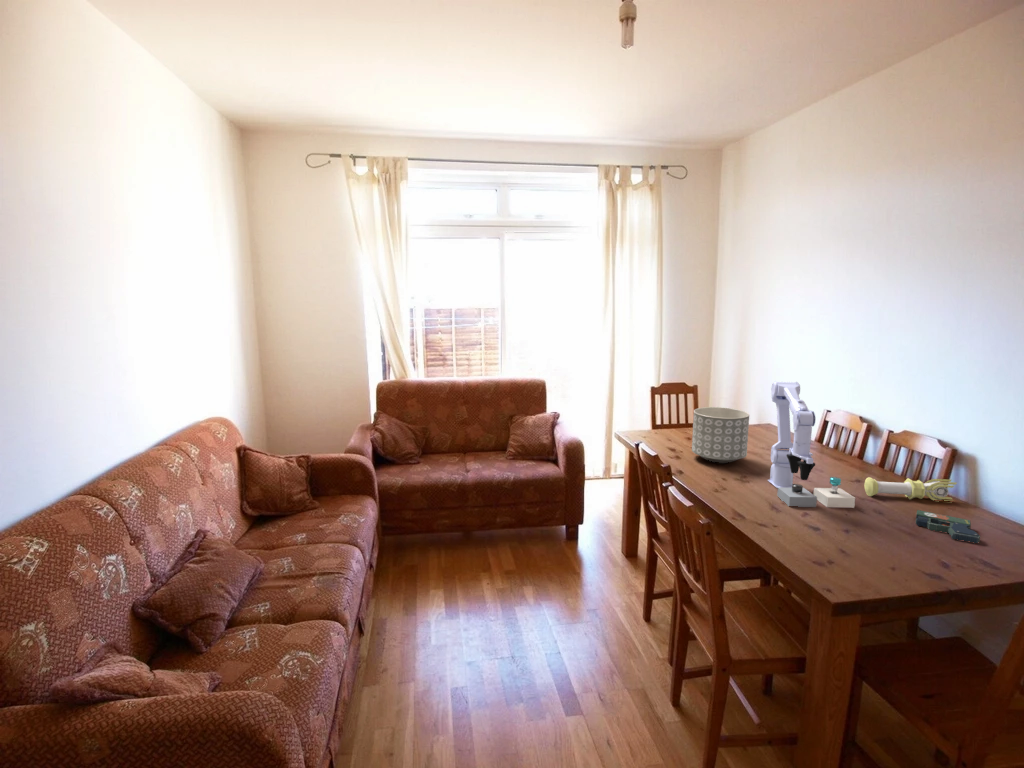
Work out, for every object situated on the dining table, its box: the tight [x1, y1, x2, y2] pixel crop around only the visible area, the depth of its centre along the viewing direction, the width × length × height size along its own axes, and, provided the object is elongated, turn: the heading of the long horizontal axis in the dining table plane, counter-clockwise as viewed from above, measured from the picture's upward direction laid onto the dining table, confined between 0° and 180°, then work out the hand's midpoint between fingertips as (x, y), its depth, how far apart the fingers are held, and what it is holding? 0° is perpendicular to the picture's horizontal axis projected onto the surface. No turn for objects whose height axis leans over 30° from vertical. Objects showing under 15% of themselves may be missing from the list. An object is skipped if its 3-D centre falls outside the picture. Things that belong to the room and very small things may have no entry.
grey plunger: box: [792, 483, 804, 494], centre depth 200 cm, size 4×4×6 cm
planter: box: [691, 406, 750, 464], centre depth 252 cm, size 25×25×24 cm
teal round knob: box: [829, 476, 842, 494], centre depth 199 cm, size 4×4×6 cm
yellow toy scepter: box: [863, 476, 958, 501], centre depth 203 cm, size 8×8×30 cm
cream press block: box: [812, 487, 856, 509], centre depth 200 cm, size 10×10×4 cm
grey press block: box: [776, 487, 818, 508], centre depth 200 cm, size 10×10×4 cm
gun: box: [915, 509, 981, 544], centre depth 175 cm, size 3×16×15 cm
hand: (799, 476), depth 199 cm, fingers open, 7 cm apart
